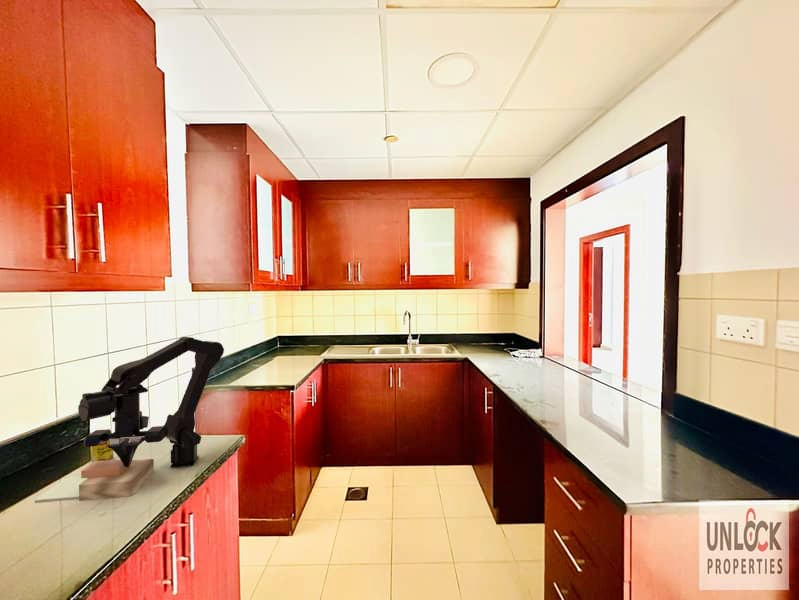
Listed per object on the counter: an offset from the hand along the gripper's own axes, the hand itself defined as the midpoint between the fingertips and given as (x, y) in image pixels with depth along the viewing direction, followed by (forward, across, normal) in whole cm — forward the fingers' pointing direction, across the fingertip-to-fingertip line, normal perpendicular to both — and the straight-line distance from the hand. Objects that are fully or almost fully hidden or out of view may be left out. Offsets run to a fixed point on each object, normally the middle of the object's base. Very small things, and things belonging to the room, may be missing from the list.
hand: (127, 466), depth 108 cm
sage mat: (+5, +14, 0) cm, 15 cm away
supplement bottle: (+5, +15, -18) cm, 24 cm away
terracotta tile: (+1, +5, 0) cm, 5 cm away
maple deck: (+5, +2, 0) cm, 6 cm away
